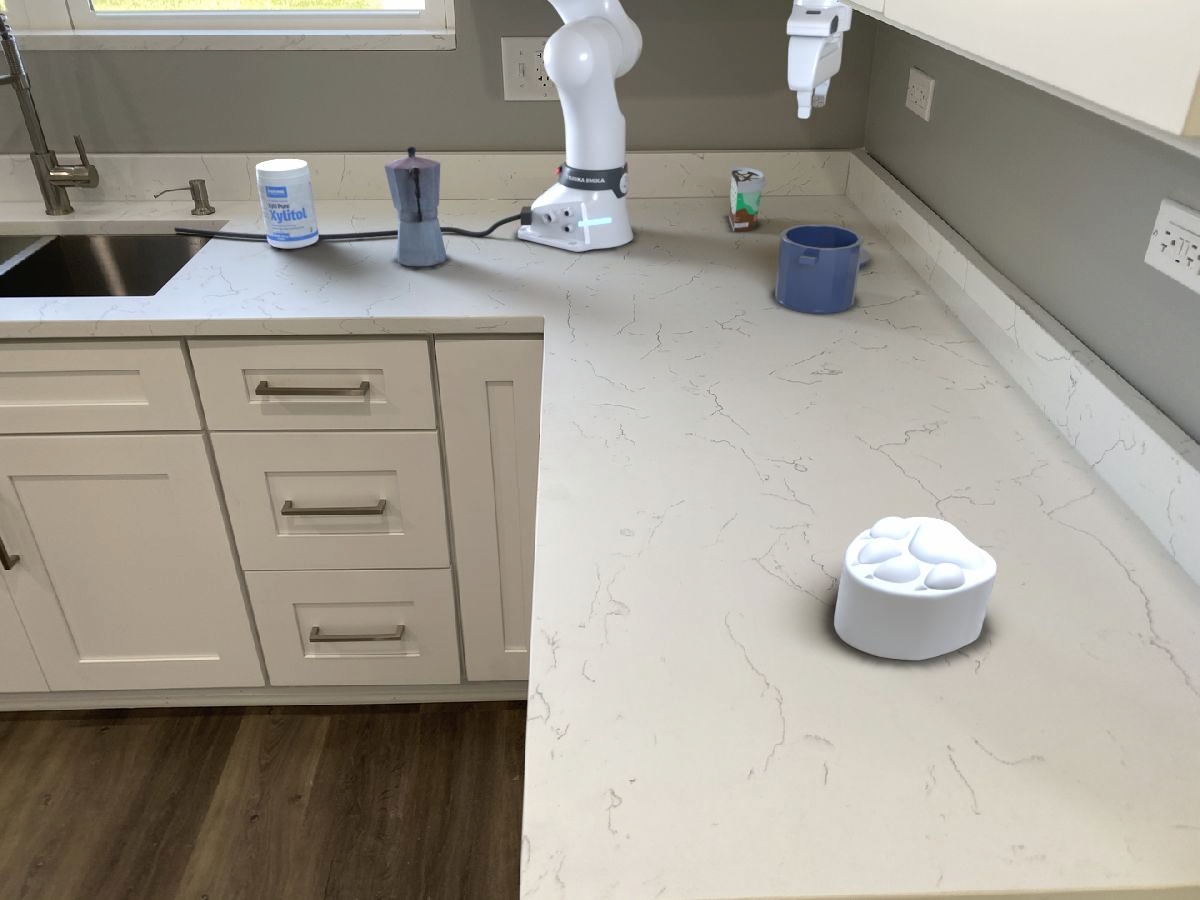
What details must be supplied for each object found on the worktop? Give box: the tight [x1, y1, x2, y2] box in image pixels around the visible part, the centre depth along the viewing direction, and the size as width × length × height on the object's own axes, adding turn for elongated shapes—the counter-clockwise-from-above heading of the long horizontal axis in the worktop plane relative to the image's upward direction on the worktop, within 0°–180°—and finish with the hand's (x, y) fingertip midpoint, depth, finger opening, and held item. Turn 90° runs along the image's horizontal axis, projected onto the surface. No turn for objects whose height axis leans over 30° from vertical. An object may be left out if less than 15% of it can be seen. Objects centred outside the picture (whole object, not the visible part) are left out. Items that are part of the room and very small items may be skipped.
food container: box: [728, 166, 767, 232], centre depth 183 cm, size 12×6×10 cm, turn 179°
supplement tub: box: [255, 158, 320, 250], centre depth 174 cm, size 10×10×15 cm
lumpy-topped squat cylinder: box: [833, 516, 998, 661], centre depth 82 cm, size 10×13×9 cm
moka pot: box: [384, 146, 447, 267], centre depth 163 cm, size 10×15×20 cm, turn 18°
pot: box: [774, 223, 864, 315], centre depth 149 cm, size 13×18×10 cm
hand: (811, 112), depth 147 cm, fingers open, 8 cm apart
